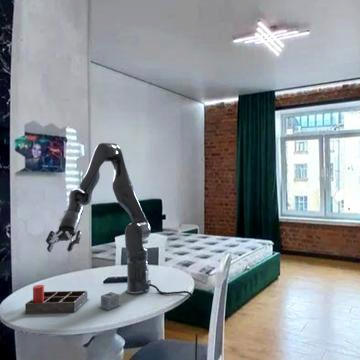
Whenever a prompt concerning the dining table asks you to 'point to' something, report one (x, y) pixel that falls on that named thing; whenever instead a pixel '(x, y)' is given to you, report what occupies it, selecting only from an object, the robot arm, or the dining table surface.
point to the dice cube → (109, 301)
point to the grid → (57, 302)
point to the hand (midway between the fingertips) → (58, 251)
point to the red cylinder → (38, 294)
